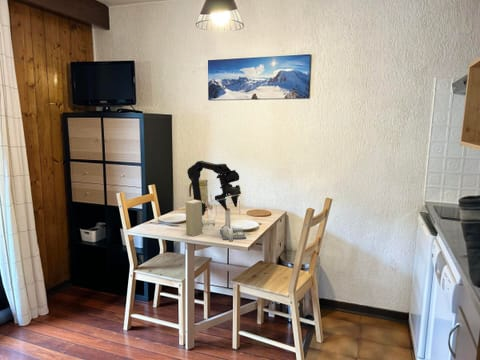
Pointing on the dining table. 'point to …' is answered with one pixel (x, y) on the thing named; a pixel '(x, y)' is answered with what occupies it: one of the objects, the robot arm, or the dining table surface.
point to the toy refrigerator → (194, 217)
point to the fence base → (228, 232)
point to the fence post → (227, 217)
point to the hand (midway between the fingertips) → (231, 208)
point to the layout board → (235, 235)
